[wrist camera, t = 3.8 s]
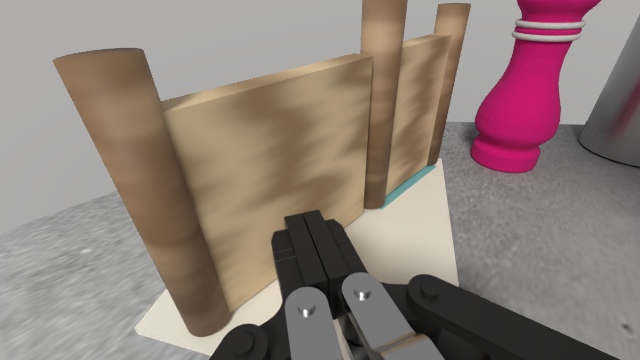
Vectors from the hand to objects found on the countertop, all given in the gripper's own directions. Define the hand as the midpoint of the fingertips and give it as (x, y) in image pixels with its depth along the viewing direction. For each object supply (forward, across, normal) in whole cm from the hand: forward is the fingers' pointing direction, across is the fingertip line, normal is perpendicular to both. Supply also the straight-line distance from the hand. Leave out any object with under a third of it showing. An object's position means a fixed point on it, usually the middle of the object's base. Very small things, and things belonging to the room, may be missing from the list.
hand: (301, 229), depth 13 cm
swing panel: (+5, 0, +7) cm, 9 cm away
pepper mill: (+12, -25, +8) cm, 29 cm away
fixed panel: (+11, -12, +7) cm, 18 cm away
